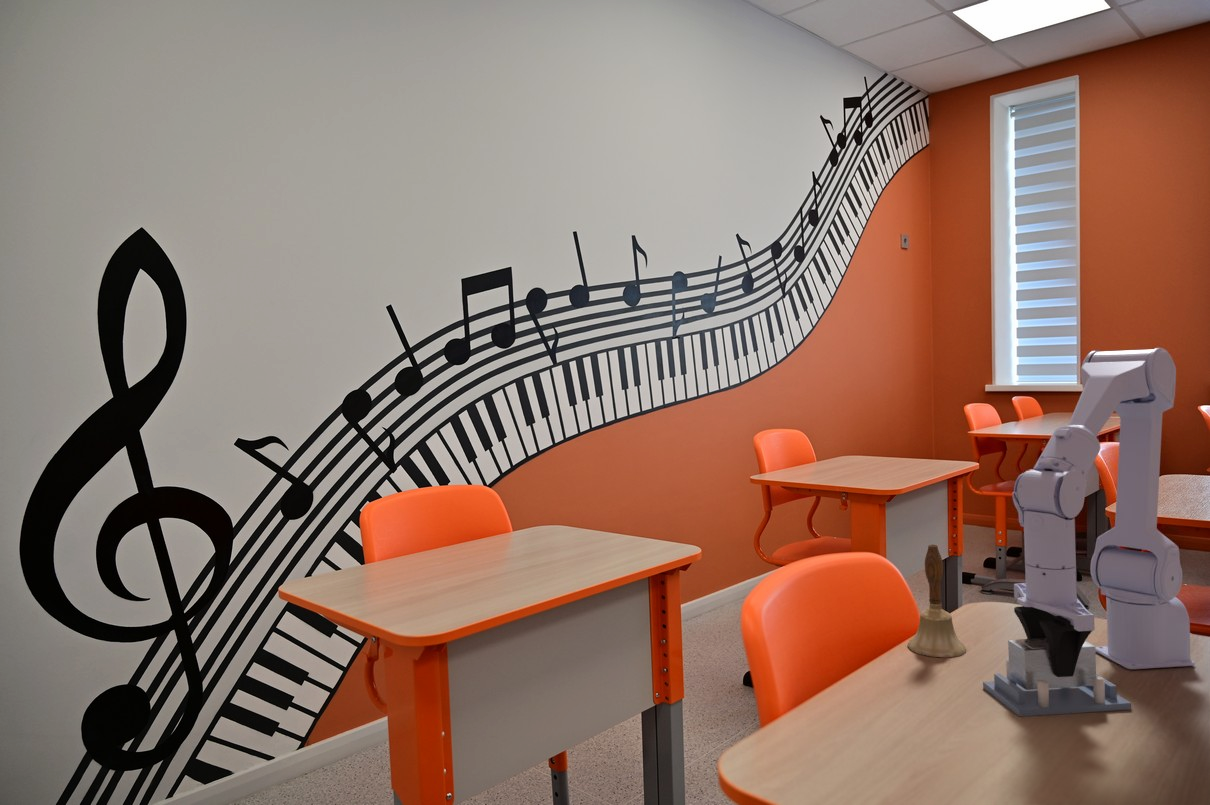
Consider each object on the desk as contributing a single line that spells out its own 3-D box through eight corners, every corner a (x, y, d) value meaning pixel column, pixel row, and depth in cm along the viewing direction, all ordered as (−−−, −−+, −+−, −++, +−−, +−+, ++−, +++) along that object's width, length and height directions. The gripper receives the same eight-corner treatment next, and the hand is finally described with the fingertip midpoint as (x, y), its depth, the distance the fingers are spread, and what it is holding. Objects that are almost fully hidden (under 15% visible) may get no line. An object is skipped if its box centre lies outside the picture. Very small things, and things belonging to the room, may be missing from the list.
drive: (1077, 673, 106) (1076, 635, 106) (1096, 685, 102) (1095, 645, 102) (1009, 677, 106) (1008, 639, 106) (1025, 689, 102) (1024, 650, 102)
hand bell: (975, 656, 120) (972, 549, 119) (919, 659, 120) (915, 552, 119) (953, 638, 128) (949, 537, 127) (900, 640, 128) (896, 540, 128)
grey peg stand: (1086, 681, 109) (1085, 653, 109) (1131, 709, 100) (1130, 679, 100) (983, 687, 109) (982, 659, 108) (1019, 716, 100) (1018, 686, 99)
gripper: (990, 553, 111) (994, 651, 111) (1051, 580, 96) (1055, 693, 97) (1041, 550, 111) (1044, 648, 111) (1110, 577, 96) (1113, 689, 97)
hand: (1053, 669), depth 104 cm, fingers closed on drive, 4 cm apart
